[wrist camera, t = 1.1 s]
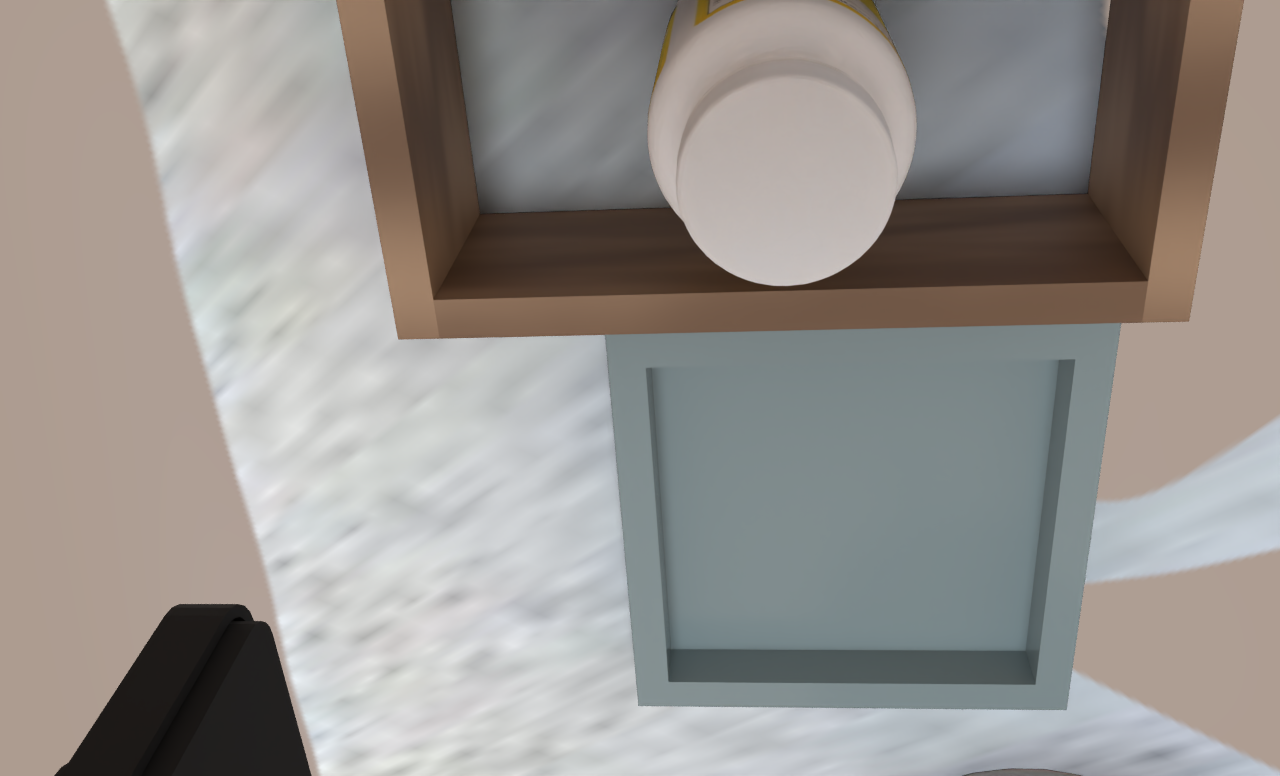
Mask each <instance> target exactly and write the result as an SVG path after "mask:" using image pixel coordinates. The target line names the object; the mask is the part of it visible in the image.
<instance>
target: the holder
mask: <svg viewBox="0 0 1280 776" xmlns="http://www.w3.org/2000/svg"><path fill="white" fill-rule="evenodd" d="M336 1H337V7H338V12H339V18H340V23H341V29H342V34H343V40H344V45H345V51H346V56H347V62H348V67H349V72H350V78H351V83H352V89H353V94H354V100H355V105H356V111H357V116H358V122H359V127H360V133H361V138H362V143H363V149H364V154H365V160H366V165H367V171H368V176H369V182H370V187H371V193H372V198H373V204H374V209H375V214H376V220H377V225H378V231H379V236H380V242H381V247H382V253H383V258H384V264H385V269H386V275H387V280H388V285H389V291H390V296H391V302H392V307H393V313H394V318H395V324H396V329H397V335H398V339H439V338H483V337H527V336H571V335H615V334H659V333H703V332H747V331H791V330H835V329H879V328H923V327H967V326H1011V325H1055V324H1099V323H1141V322H1142V323H1143V322H1186V321H1189V318H1190V312H1191V306H1192V300H1193V295H1194V289H1195V283H1196V277H1197V271H1198V266H1199V260H1200V254H1201V248H1202V242H1203V236H1204V231H1205V225H1206V219H1207V213H1208V207H1209V201H1210V196H1211V190H1212V183H1213V178H1214V172H1215V166H1216V161H1217V155H1218V149H1219V143H1220V137H1221V131H1222V126H1223V120H1224V114H1225V108H1226V102H1227V96H1228V91H1229V85H1230V79H1231V73H1232V67H1233V61H1234V55H1235V50H1236V44H1237V38H1238V32H1239V26H1240V20H1241V14H1242V9H1243V3H1244V0H1111V3H1110V11H1109V20H1108V28H1107V36H1106V45H1105V53H1104V61H1103V70H1102V78H1101V87H1100V95H1099V103H1098V112H1097V120H1096V129H1095V137H1094V145H1093V154H1092V162H1091V170H1090V179H1089V187H1088V194H1067V195H1037V196H1007V197H978V198H948V199H918V200H895V202H894V206H893V209H892V212H891V215H890V217H889V219H888V222H887V224H886V226H885V228H884V229H883V231H882V232H881V234H880V235H879V237H878V238H877V240H876V241H875V242H874V243H873V245H872V246H871V247H870V248H869V249H868V250H867V251H866V252H865V253H864V254H863V255H862V256H861V257H860V258H859V259H857V260H856V261H855V262H853V263H852V264H851V265H849V266H848V267H846V268H844V269H843V270H841V271H839V272H838V273H836V274H834V275H832V276H829V277H827V278H824V279H822V280H818V281H815V282H811V283H808V284H801V285H792V286H771V285H765V284H760V283H755V282H751V281H748V280H745V279H743V278H740V277H737V276H735V275H733V274H731V273H729V272H728V271H726V270H725V269H723V268H722V267H720V266H719V265H717V264H715V263H714V262H713V261H712V260H711V259H710V258H708V257H707V256H706V255H705V254H704V252H703V251H702V250H701V249H700V248H699V247H698V246H697V244H696V243H695V242H694V240H693V239H692V237H691V236H690V234H689V232H688V230H687V228H686V226H685V224H684V222H683V220H682V219H681V218H680V217H679V216H678V215H677V214H676V213H675V211H674V210H673V209H672V208H650V209H620V210H591V211H561V212H531V213H501V214H480V211H479V203H478V196H477V189H476V182H475V175H474V167H473V160H472V153H471V146H470V138H469V131H468V124H467V117H466V110H465V102H464V95H463V88H462V81H461V73H460V66H459V59H458V52H457V45H456V37H455V30H454V23H453V16H452V9H451V1H450V0H336Z"/></svg>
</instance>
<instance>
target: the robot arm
mask: <svg viewBox="0 0 1280 776" xmlns="http://www.w3.org/2000/svg"><path fill="white" fill-rule="evenodd" d="M55 776H311V773H310V769H309V765H308V761H307V758H306V754H305V750H304V747H303V743H302V739H301V736H300V732H299V729H298V725H297V721H296V718H295V714H294V710H293V707H292V704H291V699H290V696H289V692H288V688H287V685H286V681H285V677H284V674H283V670H282V666H281V663H280V659H279V656H278V652H277V648H276V645H275V641H274V637H273V634H272V632H271V629H270V627H269V626H268V624H267V623H266V622H262V621H254V620H253V618H252V615H251V613H250V611H249V610H248V609H247V608H246V607H245V606H243V605H239V604H179V605H177V606H174V607H172V608H171V609H170V610H169V612H168V613H167V614H166V615H165V616H164V618H163V619H162V621H161V622H160V624H159V626H158V627H157V628H156V630H155V631H154V633H153V635H152V636H151V638H150V639H149V641H148V642H147V644H146V645H145V647H144V648H143V650H142V651H141V653H140V654H139V656H138V657H137V659H136V661H135V662H134V664H133V665H132V667H131V668H130V670H129V671H128V673H127V674H126V676H125V677H124V679H123V680H122V682H121V683H120V685H119V686H118V688H117V690H116V691H115V693H114V694H113V696H112V697H111V699H110V700H109V702H108V703H107V705H106V706H105V708H104V709H103V711H102V712H101V714H100V716H99V717H98V719H97V720H96V722H95V724H94V725H93V726H92V728H91V729H90V731H89V732H88V734H87V736H86V737H85V739H84V740H83V742H82V743H81V745H80V746H79V748H78V749H77V751H76V752H75V754H74V755H73V757H72V758H71V760H70V761H69V763H67V764H66V765H64V766H63V767H61V768H60V770H59V771H58V772H57V773H56V774H55Z"/></svg>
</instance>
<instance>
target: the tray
mask: <svg viewBox="0 0 1280 776" xmlns="http://www.w3.org/2000/svg"><path fill="white" fill-rule="evenodd" d="M1120 326H1121V323H1099V324H1055V325H1011V326H967V327H923V328H879V329H835V330H791V331H747V332H703V333H659V334H615V335H605V339H606V350H607V361H608V373H609V384H610V395H611V406H612V417H613V428H614V439H615V450H616V462H617V473H618V484H619V495H620V506H621V517H622V528H623V540H624V551H625V562H626V573H627V584H628V595H629V606H630V617H631V629H632V640H633V651H634V662H635V673H636V684H637V695H638V706H698V707H802V708H907V709H1012V710H1067V703H1068V696H1069V689H1070V682H1071V675H1072V668H1073V660H1074V653H1075V646H1076V639H1077V632H1078V625H1079V618H1080V611H1081V604H1082V597H1083V589H1084V583H1085V576H1086V568H1087V561H1088V554H1089V547H1090V540H1091V533H1092V526H1093V519H1094V512H1095V505H1096V498H1097V491H1098V483H1099V476H1100V469H1101V462H1102V454H1103V448H1104V441H1105V434H1106V427H1107V419H1108V413H1109V406H1110V398H1111V391H1112V384H1113V377H1114V370H1115V363H1116V356H1117V349H1118V342H1119V335H1120V328H1121V327H1120Z"/></svg>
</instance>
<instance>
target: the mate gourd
mask: <svg viewBox="0 0 1280 776" xmlns="http://www.w3.org/2000/svg"><path fill="white" fill-rule="evenodd" d="M964 776H1081V775H1075V774H1069V773H1063V772H1057V771H1051V770H1039V769H1004V770H995V771H987V772H978V773H972V774H968V775H964Z"/></svg>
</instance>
